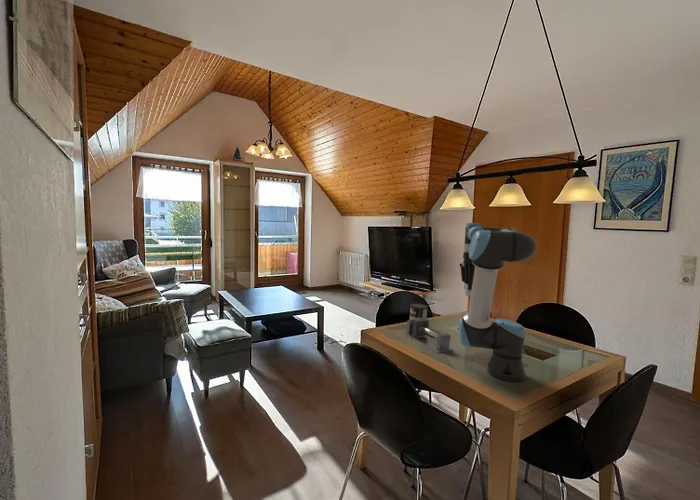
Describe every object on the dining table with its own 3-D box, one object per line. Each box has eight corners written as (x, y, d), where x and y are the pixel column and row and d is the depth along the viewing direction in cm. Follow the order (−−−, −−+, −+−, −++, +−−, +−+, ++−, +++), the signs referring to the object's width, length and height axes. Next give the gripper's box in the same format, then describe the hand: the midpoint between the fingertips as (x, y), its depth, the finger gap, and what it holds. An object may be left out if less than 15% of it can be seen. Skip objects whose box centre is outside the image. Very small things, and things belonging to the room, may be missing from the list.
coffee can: (413, 331, 199) (415, 307, 198) (406, 325, 209) (407, 303, 208) (429, 330, 202) (430, 307, 201) (420, 325, 212) (422, 303, 211)
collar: (427, 335, 188) (428, 320, 187) (415, 336, 184) (416, 321, 183) (424, 333, 191) (425, 318, 190) (412, 334, 187) (413, 320, 186)
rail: (453, 350, 171) (454, 335, 171) (437, 352, 167) (438, 337, 166) (416, 331, 198) (417, 318, 197) (402, 333, 194) (403, 320, 193)
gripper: (485, 253, 174) (482, 298, 176) (467, 250, 186) (463, 292, 188) (475, 253, 171) (471, 298, 173) (456, 250, 182) (453, 293, 184)
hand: (467, 295), depth 180 cm, fingers closed
